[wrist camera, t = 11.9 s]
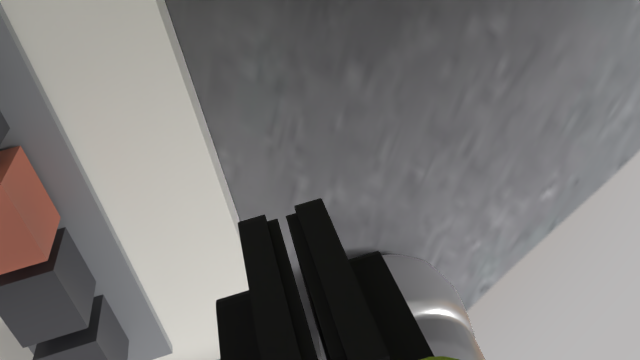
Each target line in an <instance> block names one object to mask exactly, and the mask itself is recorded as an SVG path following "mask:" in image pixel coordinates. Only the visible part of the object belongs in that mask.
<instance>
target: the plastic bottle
mask: <svg viewBox="0 0 640 360" xmlns="http://www.w3.org/2000/svg"><path fill="white" fill-rule="evenodd" d="M382 257H383V258H384V260H385V262H386V264H387V266H388V268H389V270H390V272H391V274H392V276H393V278H394V279H395V281H396V283H397V285H398V287H399V289H400V291H401V293H402V295H403V297H404V299H405V301H406V302H407V304H408V306H409V308H410V310H411V312H412V314H413V316H414V318H415V320H416V322H417V324H418V326H419V327H420V329H421V331H422V333H423V335H424V337H425V339H426V341H427V343H428V345H429V347H430V349H431V350H432V352H433V354H434V356H435V357H437V356H446V357H450V358H455V359H459V360H485V358H484V356H483V354H482V352H481V350H480V348H479V346H478V344H477V342H476V340H475V336H474V333H473V330H472V326H471V323H470V320H469V317H468V314H467V312H466V310H465V308H464V305H463V303H462V301H461V298H460V296H459V294H458V292H457V291H456V289H455V288H454V286H453V285H452V284H451V283H450V282H449V281H448V280H447V279H446V278H445V277H444V276H443V275H442V274H441V273H440V272H439V271H438V270H437V269H436V268H434V267H433V266H432V265H431V264H430V263H428V262H425V261H423V260H421V259H418V258H413V257H409V256H404V255H394V254H388V255H382ZM318 336H319V333H318ZM319 347H320V352H321V356H322V358H323V360H327V359H326V356H325V353H324V349H323V346H322V343H321V339H320V336H319Z"/></svg>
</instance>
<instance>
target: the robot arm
mask: <svg viewBox="0 0 640 360" xmlns="http://www.w3.org/2000/svg"><path fill="white" fill-rule="evenodd" d="M295 211H296V213H295V214H292V215H288V216H286V218H287V222H288V225H289V229H290V233H291V236H292V240H293V244H294V247H295V251H296V254H297V258H298V262H299V265H300V269H301V272H302V276H303V280H304V283H305V287H306V291H307V294H308V298H309V301H310V305H311V309H312V312H313V316H314V319H315V323H316V326H317V329H318V333H319V336H320V339H321V343H322V346H323V349H324V353H325V356H326V359H327V360H459V359H455V358H450V357H446V356H437V357H435V356H434V354H433V352H432V350H431V349H430V347H429V345H428V343H427V341H426V339H425V337H424V335H423V333H422V331H421V329H420V327H419V326H418V324H417V322H416V320H415V318H414V316H413V314H412V312H411V310H410V308H409V306H408V304H407V302H406V301H405V299H404V297H403V295H402V293H401V291H400V289H399V287H398V285H397V283H396V281H395V279H394V278H393V276H392V274H391V272H390V270H389V268H388V266H387V264H386V262H385V260H384V258H383V257H382V255H381V253H380V252H379V251H376V252H373V253H370V254H366V255H363V256H360V257H356V258H353V259H350V260H348V259H347V256H346V254H345V252H344V249H343V247H342V245H341V242H340V240H339V238H338V235H337V233H336V231H335V228H334V226H333V224H332V221H331V219H330V217H329V214H328V212H327V210H326V208H325V205H324V203H323V201H322V199H321V198H320V199H317V200H313V201H310V202H306V203H303V204H299V205H296V206H295ZM238 229H239V235H240V241H241V247H242V252H243V258H244V264H245V270H246V275H247V281H248V287H249V290H247V291H244V292H241V293H238V294H234V295H231V296H228V297H224V298H221V299H218V300H216V316H217V326H218V337H219V348H220V359H221V360H318V358H317V355H316V351H315V348H314V344H313V341H312V337H311V334H310V330H309V327H308V323H307V320H306V316H305V313H304V309H303V306H302V303H301V299H300V296H299V292H298V289H297V285H296V282H295V278H294V275H293V271H292V268H291V264H290V261H289V257H288V254H287V250H286V247H285V243H284V240H283V237H282V233H281V230H280V226H279V223H278V219H274V220H271V221H268V222H267V220H266V217H265V215H261V216H258V217H255V218H251V219H248V220H244V221H241V222H238Z"/></svg>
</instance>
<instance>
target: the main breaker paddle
mask: <svg viewBox="0 0 640 360" xmlns="http://www.w3.org/2000/svg"><path fill="white" fill-rule="evenodd" d="M60 218H61V217H60V215H59V213H58V211H57V210H56V208H55V206H54V204H53V203H52V201H51V199H50V197H49V195H48V194H47V192H46V190H45V188H44V186H43V185H42V183H41V181H40V179H39V178H38V176H37V174H36V172H35V170H34V169H33V167H32V165H31V163H30V161H29V160H28V158H27V156H26V154H25V153H24V151H23V149H22V147H21V145H20V146H17V147H13V148H10V149H6V150H2V151H0V275H1V274H4V273H8V272H11V271H14V270H18V269H21V268H25V267H28V266H31V265H35V264H38V263H41V262H45V261H48V258H49V254H50V251H51V248H52V244H53V241H54V238H55V235H56V231H57V228H58V225H59V221H60Z"/></svg>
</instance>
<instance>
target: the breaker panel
mask: <svg viewBox="0 0 640 360" xmlns="http://www.w3.org/2000/svg"><path fill="white" fill-rule="evenodd" d="M20 145H21V147H22V149H23V151H24V153H25V154H26V156H27V158H28V160H29V161H30V163H31V165H32V167H33V169H34V170H35V172H36V174H37V176H38V178H39V179H40V181H41V183H42V185H43V186H44V188H45V190H46V192H47V194H48V195H49V197H50V199H51V201H52V203H53V204H54V206H55V208H56V210H57V211H58V213H59V215H60V217H61V218H60V221H59V225H58V228H57V231H56V235H55V238H54V241H53V244H52V248H51V251H50V254H49V258H48V261H45V262H41V263H38V264H35V265H31V266H28V267H25V268H21V269H18V270H14V271H11V272H8V273H4V274H1V275H0V360H218V359H220V348H219V337H218V326H217V316H216V300H218V299H221V298H224V297H228V296H231V295H234V294H238V293H241V292H244V291H247V290H249V287H248V281H247V275H246V270H245V264H244V258H243V252H242V247H241V241H240V235H239V229H238V222H240V220H239V217H238V214H237V212H236V209H235V206H234V203H233V200H232V197H231V194H230V191H229V188H228V185H227V182H226V179H225V176H224V173H223V171H222V168H221V165H220V162H219V159H218V156H217V153H216V150H215V147H214V144H213V141H212V138H211V135H210V132H209V130H208V127H207V124H206V121H205V118H204V115H203V112H202V109H201V106H200V103H199V100H198V97H197V94H196V91H195V89H194V86H193V83H192V80H191V77H190V74H189V71H188V68H187V65H186V62H185V59H184V56H183V53H182V50H181V48H180V45H179V42H178V39H177V36H176V33H175V30H174V27H173V24H172V21H171V18H170V15H169V12H168V9H167V7H166V4H165V1H164V0H0V151H2V150H6V149H10V148H13V147H17V146H20Z"/></svg>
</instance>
